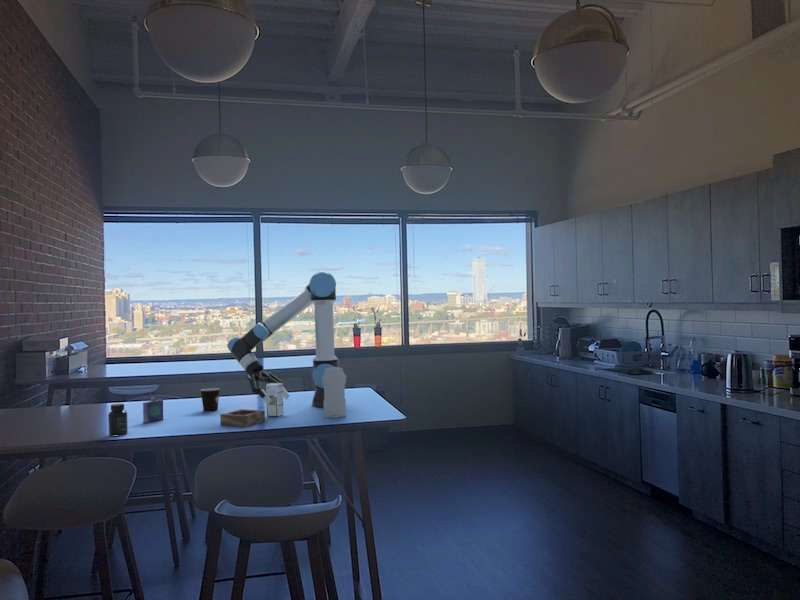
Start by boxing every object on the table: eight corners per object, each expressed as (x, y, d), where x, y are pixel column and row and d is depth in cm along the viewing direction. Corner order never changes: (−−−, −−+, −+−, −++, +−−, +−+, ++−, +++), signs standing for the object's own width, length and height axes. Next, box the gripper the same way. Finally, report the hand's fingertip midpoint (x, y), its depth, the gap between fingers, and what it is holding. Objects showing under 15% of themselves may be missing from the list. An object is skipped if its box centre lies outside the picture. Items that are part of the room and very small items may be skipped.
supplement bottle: (129, 432, 254) (128, 402, 253) (124, 436, 247) (124, 405, 247) (111, 433, 253) (110, 403, 252) (106, 437, 246) (105, 406, 246)
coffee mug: (208, 412, 293) (208, 391, 293) (197, 411, 298) (196, 390, 298) (228, 408, 303) (228, 388, 302) (217, 407, 308) (217, 386, 308)
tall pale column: (346, 415, 280) (345, 366, 280) (347, 417, 276) (346, 367, 276) (322, 416, 278) (321, 367, 277) (323, 418, 274) (322, 368, 273)
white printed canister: (284, 414, 285) (283, 382, 284) (277, 417, 279) (276, 384, 279) (273, 414, 286) (272, 382, 286) (266, 416, 281) (265, 384, 281)
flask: (145, 423, 271) (144, 398, 271) (141, 422, 273) (141, 398, 273) (164, 420, 278) (164, 395, 278) (161, 419, 280) (160, 395, 280)
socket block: (241, 419, 276) (240, 408, 276) (264, 421, 270) (264, 410, 270) (220, 424, 264) (220, 414, 264) (244, 427, 259) (244, 416, 259)
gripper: (264, 367, 301) (290, 400, 294) (228, 374, 278) (256, 410, 272) (273, 357, 298) (300, 390, 292) (237, 362, 276) (265, 398, 269)
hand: (279, 399), depth 282 cm, fingers open, 13 cm apart
